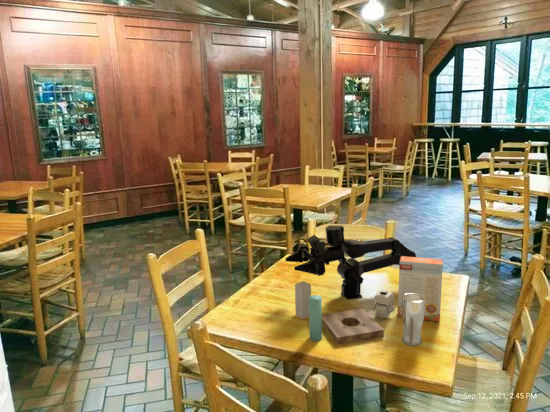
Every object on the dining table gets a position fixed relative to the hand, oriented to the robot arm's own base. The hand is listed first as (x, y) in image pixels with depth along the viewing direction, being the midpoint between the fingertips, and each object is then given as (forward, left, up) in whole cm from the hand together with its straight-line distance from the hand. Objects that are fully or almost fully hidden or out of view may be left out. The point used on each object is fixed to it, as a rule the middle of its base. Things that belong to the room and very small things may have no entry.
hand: (289, 264), depth 160 cm
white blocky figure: (-29, +18, -17) cm, 38 cm away
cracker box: (-41, +21, -17) cm, 49 cm away
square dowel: (-2, +8, -17) cm, 19 cm away
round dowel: (-1, +24, -17) cm, 29 cm away
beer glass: (-29, +35, -17) cm, 49 cm away
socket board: (-14, +22, -17) cm, 31 cm away
